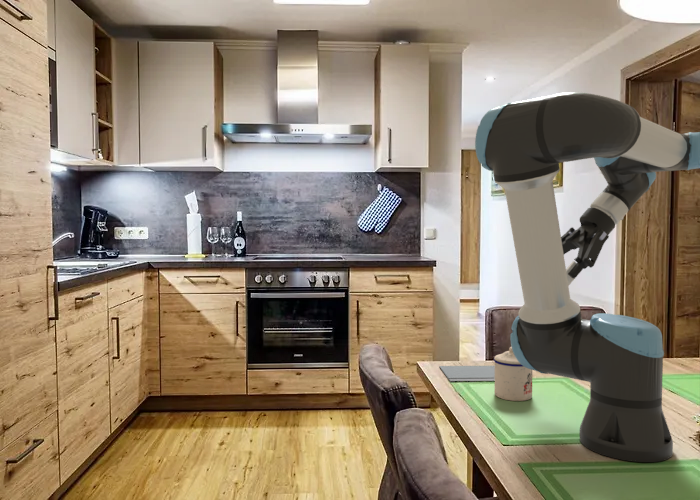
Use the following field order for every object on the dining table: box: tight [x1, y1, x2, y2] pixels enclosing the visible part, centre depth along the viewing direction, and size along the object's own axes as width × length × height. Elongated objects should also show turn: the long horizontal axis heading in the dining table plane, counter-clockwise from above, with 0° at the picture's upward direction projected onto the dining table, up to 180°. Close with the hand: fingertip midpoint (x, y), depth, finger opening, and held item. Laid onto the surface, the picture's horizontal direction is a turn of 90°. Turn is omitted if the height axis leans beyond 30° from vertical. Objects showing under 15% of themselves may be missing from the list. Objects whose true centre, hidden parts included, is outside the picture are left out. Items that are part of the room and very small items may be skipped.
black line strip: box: [448, 378, 495, 383], centre depth 142 cm, size 2×21×1 cm, turn 91°
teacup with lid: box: [493, 346, 533, 402], centre depth 130 cm, size 12×9×12 cm
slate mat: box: [438, 365, 495, 380], centre depth 150 cm, size 13×20×1 cm, turn 91°
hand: (544, 283), depth 129 cm, fingers open, 13 cm apart
